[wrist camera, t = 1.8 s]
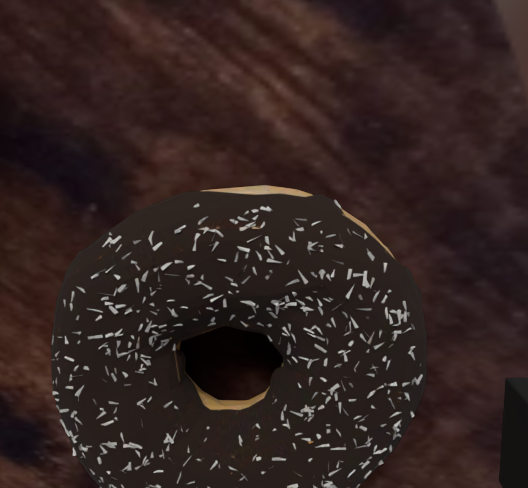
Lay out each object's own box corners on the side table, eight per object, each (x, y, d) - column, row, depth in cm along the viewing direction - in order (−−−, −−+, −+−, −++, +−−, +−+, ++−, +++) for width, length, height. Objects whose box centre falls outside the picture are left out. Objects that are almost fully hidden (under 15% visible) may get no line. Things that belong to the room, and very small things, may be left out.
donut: (19, 270, 17) (-61, 312, 13) (332, 110, 15) (346, 104, 11) (174, 517, 19) (144, 618, 15) (466, 402, 17) (517, 481, 13)
